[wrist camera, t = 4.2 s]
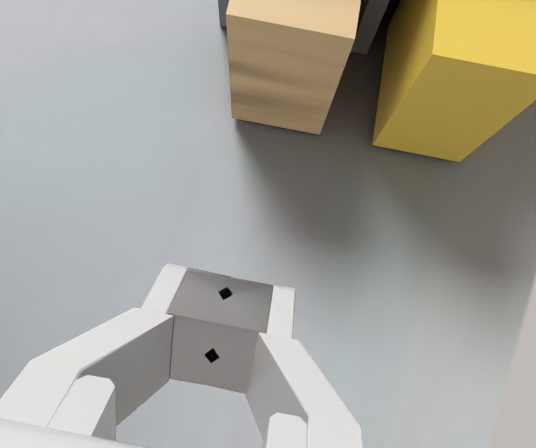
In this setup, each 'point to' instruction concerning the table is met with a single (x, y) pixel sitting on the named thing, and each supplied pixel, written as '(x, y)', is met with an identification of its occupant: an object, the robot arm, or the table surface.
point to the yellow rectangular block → (454, 74)
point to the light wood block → (288, 59)
